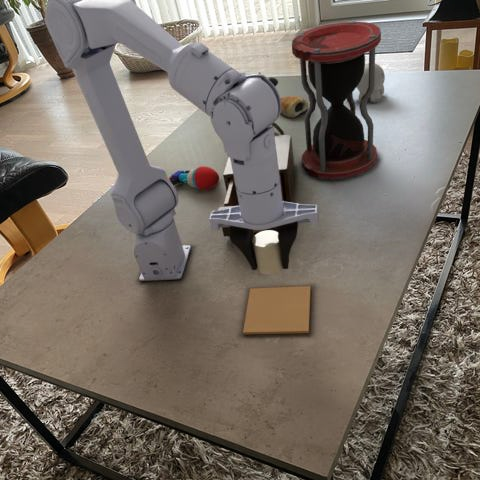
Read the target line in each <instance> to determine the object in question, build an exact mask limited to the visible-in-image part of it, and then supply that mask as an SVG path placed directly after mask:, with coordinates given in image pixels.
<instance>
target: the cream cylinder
mask: <svg viewBox="0 0 480 480" xmlns="http://www.w3.org/2000/svg"><path fill="white" fill-rule="evenodd" d="M252 242H253V247H254V253H255V258H256V264H257V271H258V272H259V274H263V275H266V276H270V275H277V274H279V273H280V272H281V271H282V270H284V269H283V266H282V252H281V248H280V243H279V240H278V232H276V231H273V230H265V231H261V232H259V233H257V234H256V235H254V237H253V239H252Z"/></svg>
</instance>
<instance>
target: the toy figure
mask: <svg viewBox="0 0 480 480" xmlns="http://www.w3.org/2000/svg"><path fill="white" fill-rule="evenodd" d="M168 179H169V181H170V182H171V183H172V184H173V186H174V187H175V186H176V185H179V184H188V185H189V186H190V187H191V188H194V189H198V190H201V191H206V190H210V189H213V188H214V187H216V186H217V185H218V183H219V181H220V175H219V173H218V172H217V171H216V170H215V169H214V168H211V167H208V166H204V165H203V166H202V165H201V166H198V167H193V168H192V169H191V170H185V171H184V170H177V171H176V172H174V173H172V174H171V176H169V177H168Z"/></svg>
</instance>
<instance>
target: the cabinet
mask: <svg viewBox="0 0 480 480" xmlns="http://www.w3.org/2000/svg"><path fill="white" fill-rule="evenodd" d="M279 135H280V136H275V143H276V151H277V159H278V167H279V173H282V176H283V185H284V200H283V201H284V202H291V203H292V195H293V194H292V193H293V184H294V175H295V159H294V149H293V138H292V134H285V135H281V134H279ZM222 177H223V180H224V181H223V182H224V186H225V190H226V192H227V191H228V187H229V183H230V179H231V178H233V177H234V176H233V170H232V165H231V160H230V157H228V156H227V160H226V163H225V168H224V170H223V174H222Z"/></svg>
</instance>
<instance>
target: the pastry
mask: <svg viewBox="0 0 480 480" xmlns="http://www.w3.org/2000/svg"><path fill="white" fill-rule="evenodd" d="M280 99H281V113H280V114H282V115H283V116H285V117H286V118H291V119H292V118H296V117H298V116H299V115H300V114H303V113H304V112H307V111H308V109H309V103H308V101H307V100H306V99H305V98H303V97H299V96H298V95H289V96H285V97H280Z"/></svg>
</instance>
